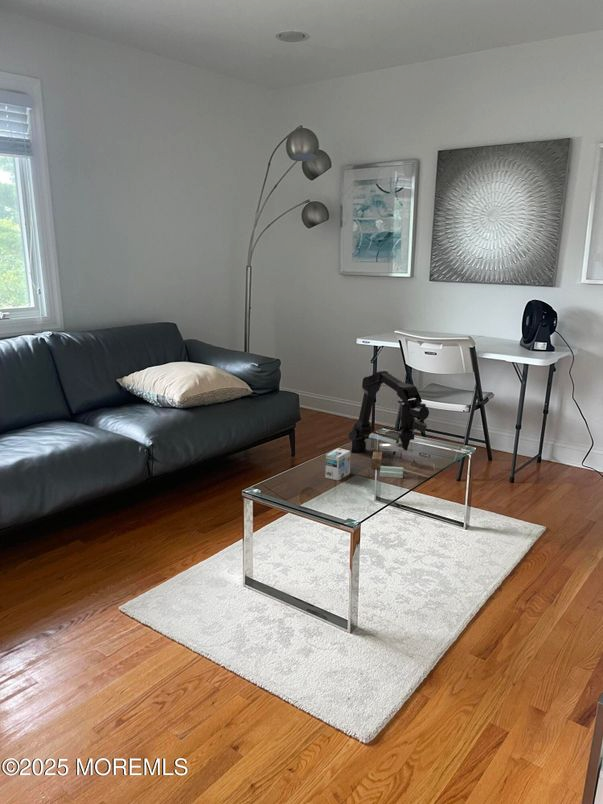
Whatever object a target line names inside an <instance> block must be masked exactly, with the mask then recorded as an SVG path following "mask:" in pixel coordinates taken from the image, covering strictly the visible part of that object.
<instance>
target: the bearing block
mask: <svg viewBox="0 0 603 804" xmlns="http://www.w3.org/2000/svg"><path fill="white" fill-rule="evenodd" d="M382 462H383V451H373V453H372V457H371V470H380V468H381V466H382Z"/></svg>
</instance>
